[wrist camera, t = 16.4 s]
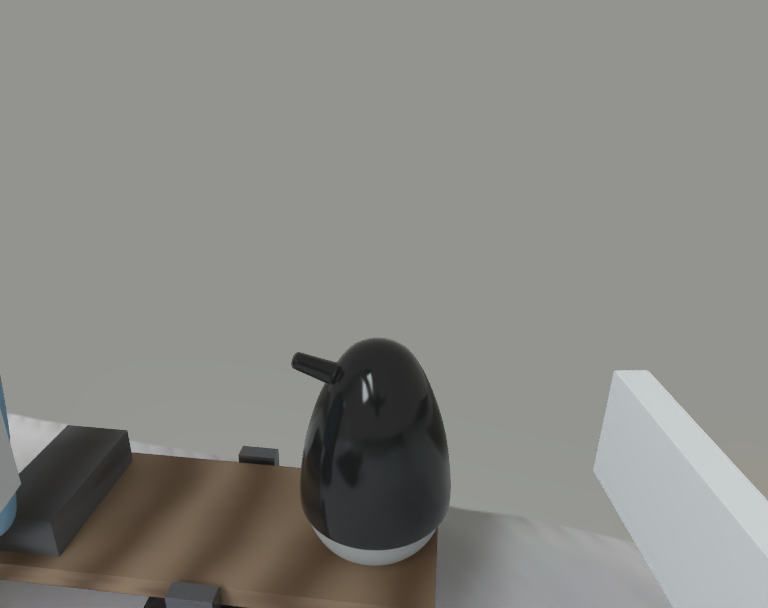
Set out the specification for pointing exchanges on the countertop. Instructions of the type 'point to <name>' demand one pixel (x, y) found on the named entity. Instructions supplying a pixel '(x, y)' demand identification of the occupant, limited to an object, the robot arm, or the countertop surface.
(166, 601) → the pivot stand
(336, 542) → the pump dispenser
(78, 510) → the balance beam
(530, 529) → the countertop surface
